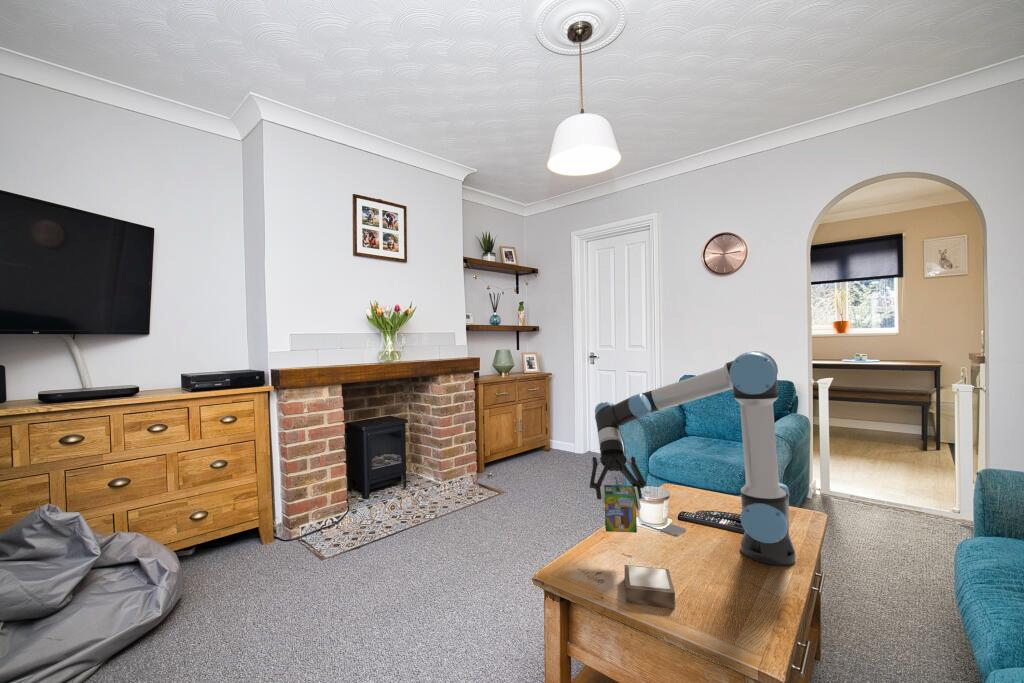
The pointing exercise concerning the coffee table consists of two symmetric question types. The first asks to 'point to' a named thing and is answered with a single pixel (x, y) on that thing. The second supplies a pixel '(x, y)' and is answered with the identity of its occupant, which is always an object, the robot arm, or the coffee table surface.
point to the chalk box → (620, 508)
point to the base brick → (649, 586)
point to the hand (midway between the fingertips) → (621, 509)
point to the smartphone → (673, 529)
